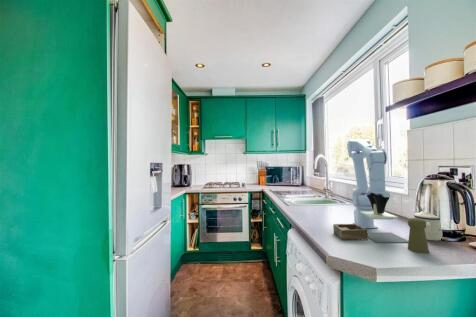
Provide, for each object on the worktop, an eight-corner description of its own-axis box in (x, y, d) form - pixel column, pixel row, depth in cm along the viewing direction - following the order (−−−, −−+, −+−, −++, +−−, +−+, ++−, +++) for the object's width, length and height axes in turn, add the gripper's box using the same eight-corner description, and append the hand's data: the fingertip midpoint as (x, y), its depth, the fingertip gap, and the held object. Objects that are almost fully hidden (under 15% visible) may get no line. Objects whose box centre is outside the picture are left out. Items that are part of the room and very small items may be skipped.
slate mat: (360, 233, 104) (360, 232, 104) (391, 233, 103) (390, 232, 103) (376, 242, 91) (376, 242, 91) (411, 242, 90) (411, 242, 90)
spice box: (333, 233, 105) (333, 224, 105) (356, 233, 104) (356, 223, 104) (342, 240, 95) (341, 230, 95) (367, 240, 94) (367, 230, 94)
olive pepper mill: (433, 253, 79) (431, 220, 79) (413, 252, 80) (411, 220, 81) (422, 247, 85) (421, 216, 85) (404, 246, 86) (402, 216, 86)
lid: (360, 214, 103) (360, 202, 103) (384, 214, 102) (383, 202, 102) (371, 219, 93) (371, 206, 93) (397, 220, 92) (397, 206, 92)
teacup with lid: (415, 233, 102) (413, 206, 103) (442, 236, 97) (441, 208, 97) (414, 240, 93) (413, 210, 93) (445, 244, 87) (443, 213, 88)
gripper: (359, 178, 105) (360, 209, 105) (375, 181, 91) (377, 216, 91) (375, 178, 105) (376, 209, 104) (394, 180, 90) (396, 216, 90)
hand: (378, 212), depth 97 cm, fingers closed on lid, 3 cm apart
